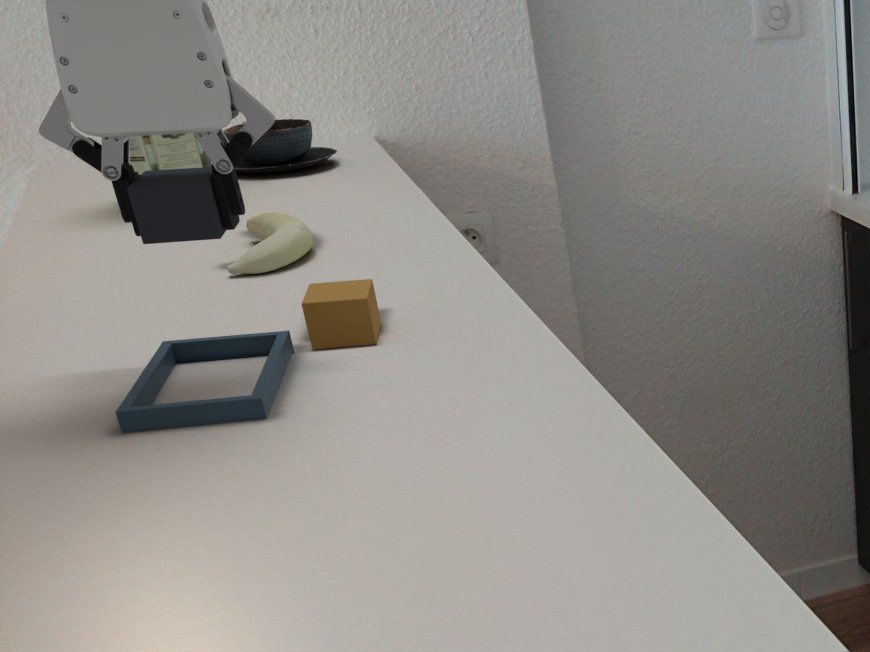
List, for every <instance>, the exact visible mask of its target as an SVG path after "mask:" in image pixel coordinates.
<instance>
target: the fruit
mask: <svg viewBox="0 0 870 652" xmlns="http://www.w3.org/2000/svg"><path fill="white" fill-rule="evenodd" d="M246 229H247V230H248V232H250V233H251V234H252V235H254V236H255V237H256V238H258V239H259V240H261V241H260V242H258V243H256V244H255V245H254V246H251V247H250V248H249V249H248V250H247V251H245V252H244V253H243V254H241V256H240V258H239V259H238V260H237V261H236V262H232V263H231V264H227V265H226V268H227V273H229V274H230V275H238V274H247V275H248V274H249V275H257V274H264V273H267V272H268V273H269V272H273V271H276V270H278V269H282V268H284V267H286V266H288V265H290V264H293V263H295V262H297V261H298V260H299V259H301V258H302V257H304V256H305V255H306V254H307V253H308V252H309V251H310V250H311V248H312V246H313V244H314V237H313V234H312V231H311V230H310V228H309V226H307V224H305V222H303V221H302V220H301V219H299V218H297V217H295V216H293V215H289V214H286V213H280V212H276V211H275V212H274V211H273V212H266V213H261V214H258V215H256V216H252V217H250V218H249V219H247V220H246Z"/></svg>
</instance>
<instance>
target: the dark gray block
mask: <svg viewBox="0 0 870 652" xmlns="http://www.w3.org/2000/svg"><path fill="white" fill-rule="evenodd" d="M212 173H213V172H212V168H211V167H202V168H185V169H167V170H150V171H145V172H143V173H142V174H141V175H140V176H139V177H138V178H137V179H136V180H135V181H134V182H133V183H131V184H130V185H129V186H128V187H127V191H128V194H129V198H130V201H131V205H132V208H133V211H134V215H135V218H136V221H137V225H138V228H139V231H140V235H141V236H140V238H141V241H142V244H143V245H153V244H155V245H156V244H166V243H168V244H169V243H179V242H181V243H183V242H194V241H195V242H196V241H209V240H221V239H222V237H223V236H224V235H225V233H226V232H227V230H226V229H225V228H223V226H222V222H221V219H220V215H219V211H218V207H217V204H216V200H215V196H214V192H213V189H212V185H211V181H210V178H209V176H210V175H211V174H212Z"/></svg>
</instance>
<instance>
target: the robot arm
mask: <svg viewBox="0 0 870 652" xmlns="http://www.w3.org/2000/svg"><path fill="white" fill-rule="evenodd" d="M44 4H45V11H46V19H47V20H46V21H47V26H48V32H49V38H50V43H51V48H52V54H53V58H54V59H53V60H54V64H55V68H56V73H57V78H58V82H59V85H60V89H59V91H58V92H57V95H56V96H55V98H54V100H53V102H52V104H51V106H50V107H49V109H48V111H47V113H46V115H44V116H45V117H44V118H43V120H42V122H41V123H40V126H39V128H38V133H39V134H40V136H41V137H42V138H44V139H45V140H48V141H49V142H51V143H53V144H55V145H57V146H59V147H61V148H62V149H63V150H66V151H69V152H70V153H73V155H74V156H76V157H77V158H79V159H80V160H81V161H83V162H84V163H86V164H87V165H89V166H91V167H92V168H94V169H95V170H97V171H98V172H99V173H101V175H102V177H103V178H105V179H106V180H108V181H111V185H112V188H113V192H114V195H115V198H116V201H117V205H118V209H119V211H120V215H121V218H122V220H123V222H124V223H125V224H129V223H131V225H132V228H133V231H134V234H135V236H136V237H141V235H140V231H139V228H138V225H137V221H136V218H135V215H134V211H133V208H132V205H131V201H130V198H129V194H128V191H127V187H128V186H129V185H130V184H131V183H133V182H134V181H135V180H136V179H137V178H138V177H139V176H140V174H138V172H134V169H133V166H132V165H130V147H131V136H145V135H165V134H184V133H194V134H195V136H196V138H197V139H198V141H199V143H200V144H201V146H202V148H203V149H204V151H205V153H206V154H207V156H208V158H209V159H210V161H211V164H212V165H211V168H212V172H213V173H212V174H211V175H210V176H209V178H210V181H211V185H212V189H213V192H214V196H215V200H216V204H217V207H218V211H219V215H220V219H221V222H222V226H223V228H225V229H226V231H231V230H233V231H234V230H235V229H236V228H237V226H238V225H239V224H240V221H241V220H240V219H241V218H240V216H244V215H245V214H246V207H245V202H244V198H243V194H242V191H241V186H240V183H239V179H238V175H237V172H236V170H235V166H236V165H237V164H238V162H239V161H240V160H241V159H242V157H243V156H244V155H245V153H246V152H247V151H248V150H249V148H250V147H251V146H252V145H253V144H254V143H255V142H256V141H257V140H258V139H259V138H260V137H261V136H262V135H263V134H264V133H265V132H266V131H267V130H268V129H269V128H270V127H271V126H272V125H273V124H274V122H275V120H276V117H275V115H274V113H272V112H271V111H270V110H269V109H268V108H267V107H265V106H264V104H263V103H261V102H260V101H259V100H258V99H256V98H255V97H254V96H253V95H252V94H251V93H249V92H248V91H247V90H246V89H245V88H244V87H243V86H242V85H240V84H239V83H238V82H237V81H236V80H235V79H234V76H233V73H232V70H231V66H230V63H229V60H228V57H227V54H226V51H225V47H224V44H223V41H222V38H221V35H220V32H219V30H218V26H217V24H216V21H215V18H214V15H213V13H212V11H211V8H210V6H209V4H208V0H44ZM240 114H242V115H243V116H244V117H245V121H246V124H245V125H244V126H243V127H242V128H241V129H240V130H239V131H238V132H237V133H236V134H235V135H234V137H233V138H232V139H231V140H230V142H229V140H228V139H227V137H226V135H225V134H224V132H223V131H224V130H223V129H224V128H226V127H227V126H229V125H230V124H231V122H232V120H234V119H235V118H237V117H238V116H239V115H240ZM72 124H73V126H72ZM74 128H75V129H74ZM76 129H77V130H78V131H77V130H76ZM81 133H83V134H85V135H83V134H81ZM86 135H88V136H92V137H99V138H101V143H100V142H97V141H96V140H95V139H93V138H91V137H88V136H86Z"/></svg>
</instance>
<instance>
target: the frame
mask: <svg viewBox="0 0 870 652" xmlns="http://www.w3.org/2000/svg"><path fill="white" fill-rule="evenodd" d="M293 355H295V348H294V345H293V340H292V336H291V332H290V330H280V331H267V332H257V333H244V334H234V335H221V336H220V335H219V336H210V337H207V336H206V337H199V338H197V337H195V338H187V339H186V338H185V339H174V340H163V341H162V342H161V343H160V345H159V346H158V348H157V350H156V351H155V352H154V354H153V355H152V357H151V358H150V360H149V362H148V363H147V364H146V366H145V368H143V371H142V372H141V373H140V375H139V376H138V378H137V379H136V381H135V382H134V383H133V385H132V387H131V388H130V389H129V392H128V393H127V395H126V396H125V397H124V399H123V400H122V402H121V403H120V405H119V406H118V407H117V409H116V410H115V412H114V413H115V415H116V419H117V422H118V426H119V428H120V431H121V433H122V434H127V433H136V432H137V433H138V432H145V431H156V430H166V429H176V428H187V427H196V426H206V425H215V424H226V423H236V422H244V421H253V420H254V421H257V420H263V419H268V417H269V414H270V412H271V409H272V406H273V404H274V401H275V399H276V396H277V393H278V392H279V389H280V386H281V383H282V381H283V378H284V375H285V374H286V370H287V367H288V365H289V363H290V360H291V358H292V356H293ZM261 357H262V358H263V357H267V358H266V359H265V362H264V365H263V367H262V369H261V371H260V374H259V375H258V378H257V381H256V382H255V385H254V387H253V390H252V393H251V394H248V395H240V396H238V395H237V396H229V397H219V398H207V399H198V400H187V401H176V402H166V403H156V404H153V403H154V402H155V400H156V398H157V397H158V395H159V393H160V392H161V390H162V388H163V387H164V385H165V383H166V382H167V380H168V378H169V377H170V375H171V374H172V372H173V371H174V369H175V367H176V365H184V364H195V363H206V362H218V361H219V362H220V361H229V360H239V359H252V358H261Z"/></svg>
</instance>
